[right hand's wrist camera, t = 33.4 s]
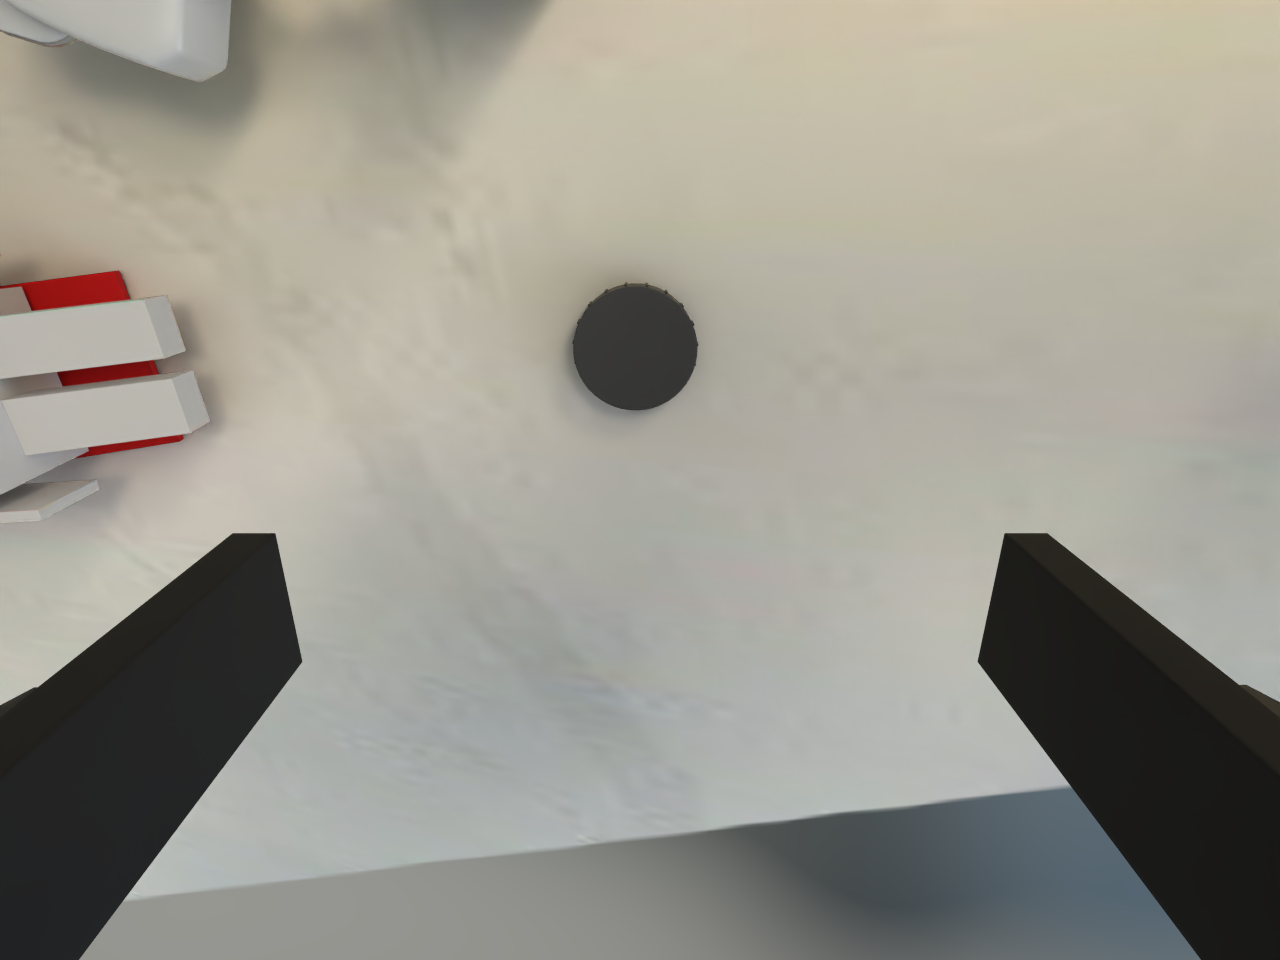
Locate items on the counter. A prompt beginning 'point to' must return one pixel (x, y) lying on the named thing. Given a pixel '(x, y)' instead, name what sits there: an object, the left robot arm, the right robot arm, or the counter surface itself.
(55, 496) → the toy
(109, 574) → the counter surface
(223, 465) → the counter surface
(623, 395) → the lid
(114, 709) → the right robot arm
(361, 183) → the counter surface
